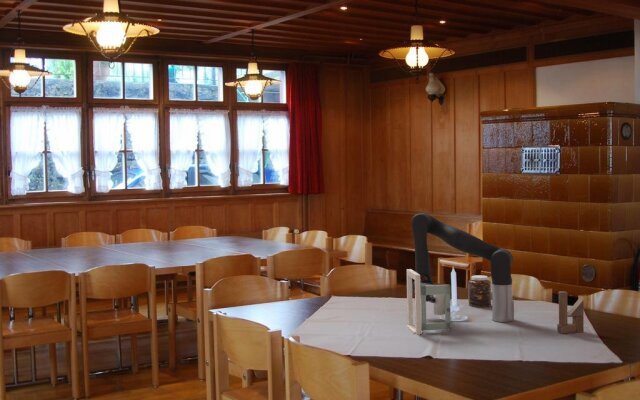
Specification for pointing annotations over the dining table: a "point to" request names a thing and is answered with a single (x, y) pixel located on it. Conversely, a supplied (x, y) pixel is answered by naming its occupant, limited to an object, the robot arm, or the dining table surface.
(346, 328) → the dining table surface
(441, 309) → the white candle
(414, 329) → the door frame
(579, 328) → the wooden braced frame
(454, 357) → the dining table surface
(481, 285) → the jar
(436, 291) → the grey-green rectangular frame
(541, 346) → the dining table surface
